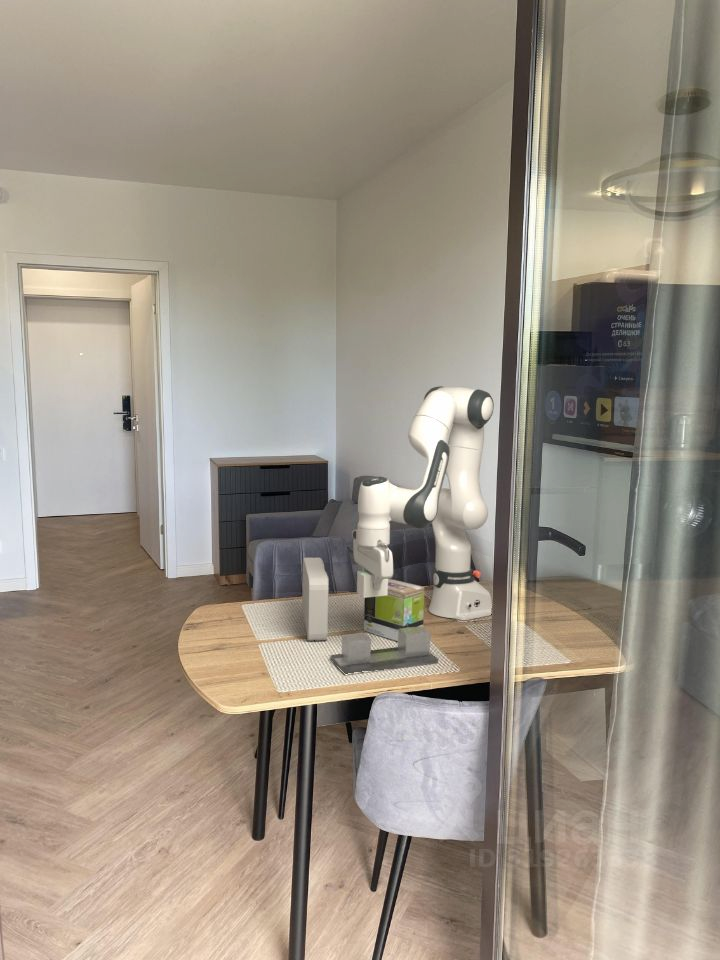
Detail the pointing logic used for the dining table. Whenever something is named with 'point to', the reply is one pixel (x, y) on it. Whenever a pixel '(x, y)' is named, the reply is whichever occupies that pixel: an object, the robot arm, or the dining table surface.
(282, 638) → the dining table surface
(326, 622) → the rounded white slab
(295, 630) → the dining table surface
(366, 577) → the block
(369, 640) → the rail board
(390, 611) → the tea box
